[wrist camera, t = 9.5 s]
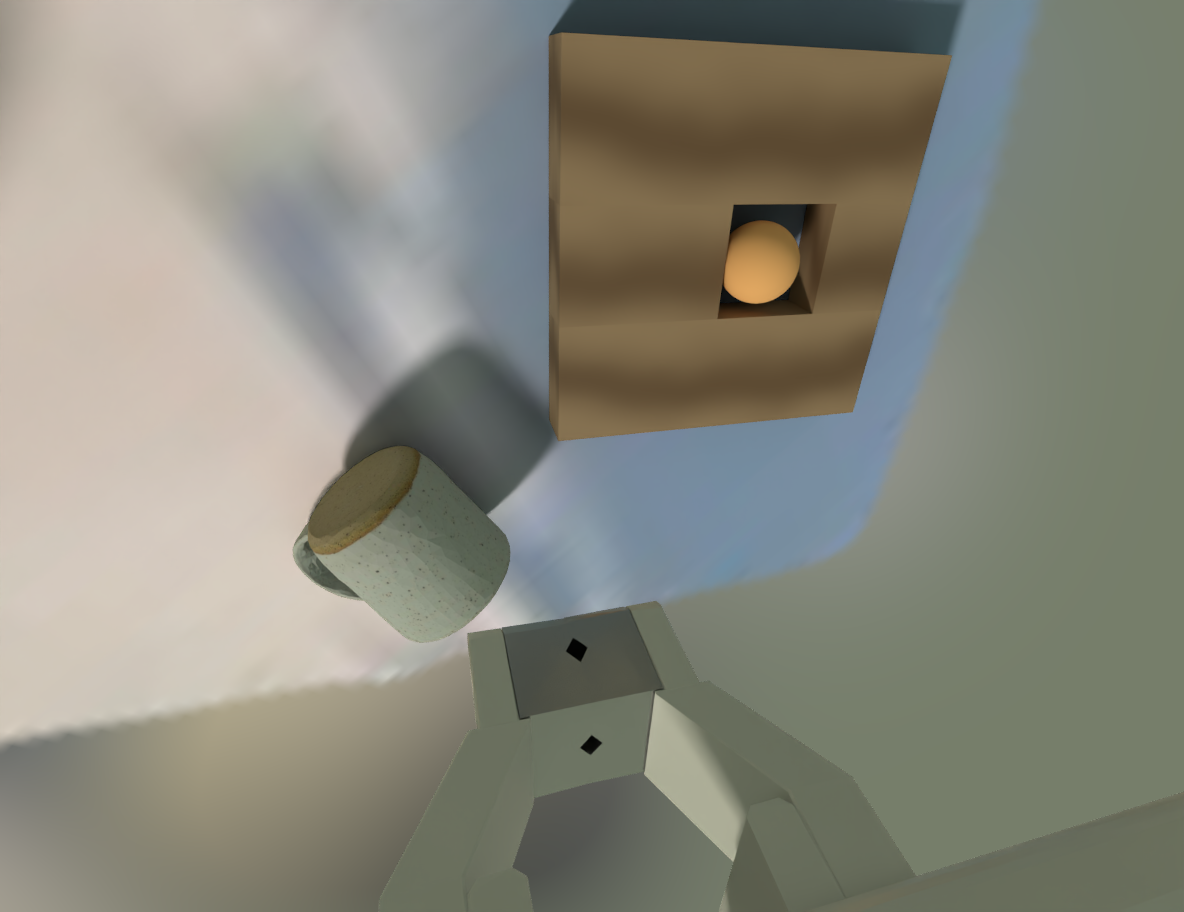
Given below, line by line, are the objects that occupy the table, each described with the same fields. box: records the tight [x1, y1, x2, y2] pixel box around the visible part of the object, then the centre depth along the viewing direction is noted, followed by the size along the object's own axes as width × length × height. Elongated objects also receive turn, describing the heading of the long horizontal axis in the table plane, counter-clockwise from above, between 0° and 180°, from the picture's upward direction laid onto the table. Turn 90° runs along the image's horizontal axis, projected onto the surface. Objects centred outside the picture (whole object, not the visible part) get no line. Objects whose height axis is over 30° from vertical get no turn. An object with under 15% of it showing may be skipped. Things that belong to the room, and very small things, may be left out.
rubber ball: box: [722, 220, 800, 304], centre depth 31 cm, size 4×4×4 cm
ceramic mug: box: [293, 446, 510, 643], centre depth 33 cm, size 11×8×8 cm
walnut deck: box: [549, 33, 952, 441], centre depth 32 cm, size 18×18×2 cm
